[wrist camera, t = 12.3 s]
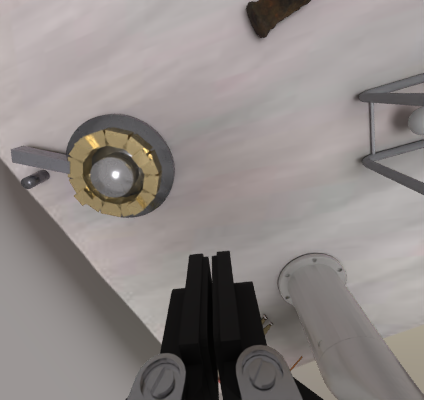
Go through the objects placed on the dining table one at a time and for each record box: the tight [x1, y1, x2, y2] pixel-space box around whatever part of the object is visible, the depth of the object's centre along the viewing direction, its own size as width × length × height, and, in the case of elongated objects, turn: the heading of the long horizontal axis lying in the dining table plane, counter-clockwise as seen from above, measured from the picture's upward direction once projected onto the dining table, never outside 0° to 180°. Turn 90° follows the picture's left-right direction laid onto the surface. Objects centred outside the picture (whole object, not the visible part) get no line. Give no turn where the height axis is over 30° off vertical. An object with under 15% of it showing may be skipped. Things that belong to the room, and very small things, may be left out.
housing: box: [21, 114, 174, 218], centre depth 36 cm, size 16×21×5 cm
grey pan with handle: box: [11, 127, 162, 217], centre depth 35 cm, size 20×12×4 cm, turn 77°
